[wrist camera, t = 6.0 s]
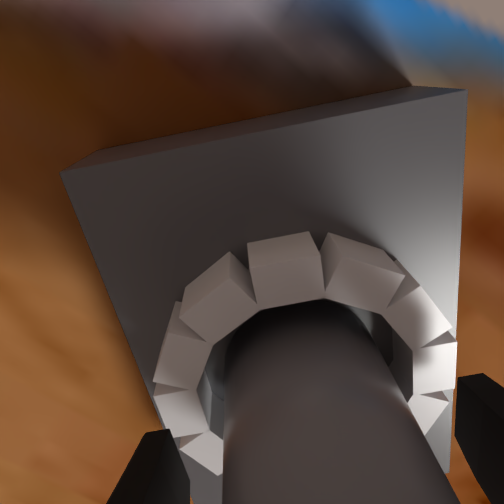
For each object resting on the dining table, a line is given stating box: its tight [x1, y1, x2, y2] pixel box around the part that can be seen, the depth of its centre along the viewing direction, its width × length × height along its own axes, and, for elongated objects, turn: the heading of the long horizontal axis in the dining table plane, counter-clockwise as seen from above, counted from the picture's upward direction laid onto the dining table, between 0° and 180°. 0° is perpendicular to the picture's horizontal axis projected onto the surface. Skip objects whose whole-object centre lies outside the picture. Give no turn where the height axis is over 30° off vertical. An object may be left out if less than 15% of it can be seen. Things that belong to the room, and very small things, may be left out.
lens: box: [222, 300, 460, 504], centre depth 9 cm, size 5×5×7 cm
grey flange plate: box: [59, 86, 468, 504], centre depth 13 cm, size 10×14×4 cm
